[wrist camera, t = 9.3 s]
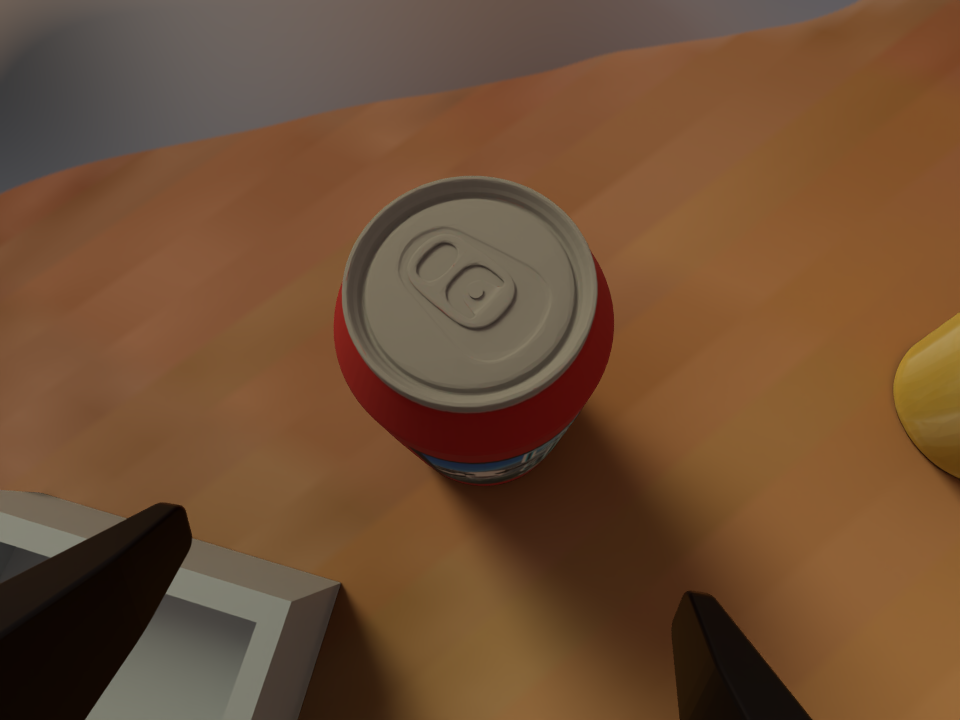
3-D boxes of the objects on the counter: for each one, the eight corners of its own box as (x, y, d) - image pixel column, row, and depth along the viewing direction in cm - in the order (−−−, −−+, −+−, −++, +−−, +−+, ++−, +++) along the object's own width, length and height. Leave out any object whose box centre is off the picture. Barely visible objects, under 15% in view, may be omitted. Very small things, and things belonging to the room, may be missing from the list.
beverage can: (492, 523, 20) (485, 524, 9) (374, 416, 22) (240, 300, 10) (593, 399, 22) (699, 264, 10) (476, 307, 23) (455, 100, 12)
